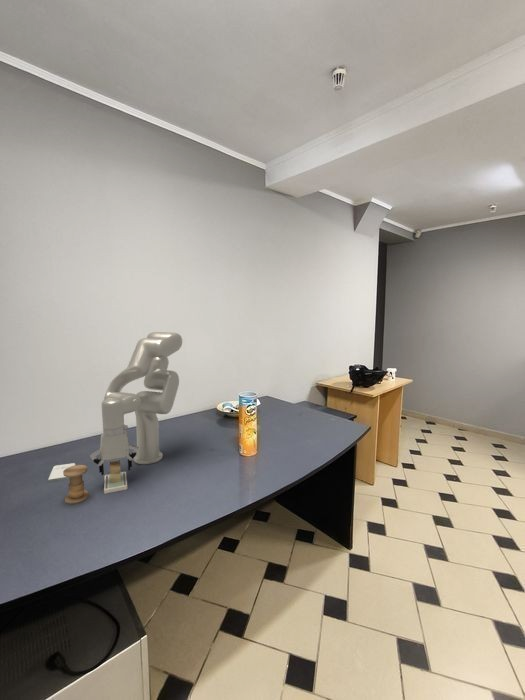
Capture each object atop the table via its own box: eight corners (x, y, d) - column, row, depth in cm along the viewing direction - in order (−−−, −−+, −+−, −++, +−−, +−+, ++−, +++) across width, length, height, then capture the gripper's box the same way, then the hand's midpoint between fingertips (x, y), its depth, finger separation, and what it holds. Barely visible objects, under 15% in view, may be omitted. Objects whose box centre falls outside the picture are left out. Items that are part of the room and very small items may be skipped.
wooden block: (110, 478, 132) (109, 461, 131) (120, 476, 134) (120, 460, 133) (110, 483, 129) (109, 465, 128) (120, 481, 130) (120, 464, 130)
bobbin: (66, 494, 124) (64, 466, 122) (89, 490, 127) (88, 463, 125) (63, 505, 117) (61, 476, 115) (88, 500, 120) (86, 472, 119)
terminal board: (104, 478, 135) (104, 474, 135) (126, 474, 139) (125, 471, 138) (104, 493, 125) (104, 489, 124) (127, 489, 128) (127, 485, 128)
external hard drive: (48, 483, 132) (53, 469, 143) (71, 479, 135) (75, 466, 147) (47, 479, 132) (53, 465, 143) (71, 476, 135) (75, 462, 146)
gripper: (136, 423, 136) (138, 462, 138) (89, 429, 129) (92, 471, 131) (138, 430, 129) (140, 471, 132) (88, 437, 122) (91, 480, 125)
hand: (116, 471), depth 132 cm, fingers open, 9 cm apart
